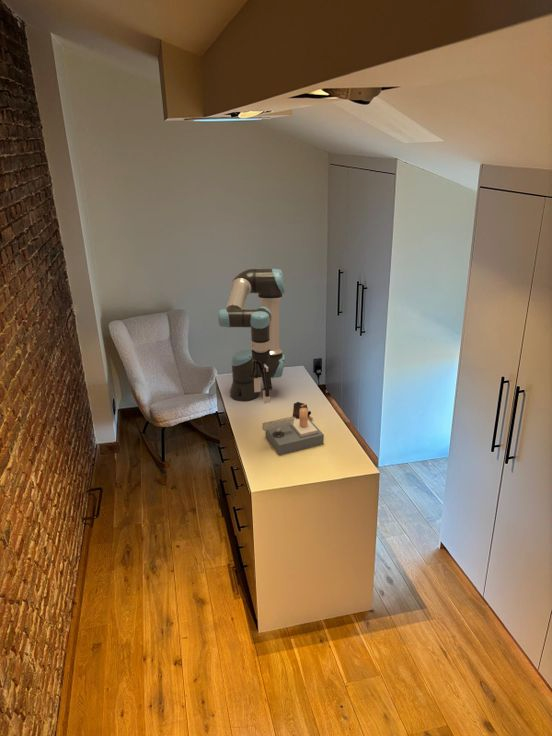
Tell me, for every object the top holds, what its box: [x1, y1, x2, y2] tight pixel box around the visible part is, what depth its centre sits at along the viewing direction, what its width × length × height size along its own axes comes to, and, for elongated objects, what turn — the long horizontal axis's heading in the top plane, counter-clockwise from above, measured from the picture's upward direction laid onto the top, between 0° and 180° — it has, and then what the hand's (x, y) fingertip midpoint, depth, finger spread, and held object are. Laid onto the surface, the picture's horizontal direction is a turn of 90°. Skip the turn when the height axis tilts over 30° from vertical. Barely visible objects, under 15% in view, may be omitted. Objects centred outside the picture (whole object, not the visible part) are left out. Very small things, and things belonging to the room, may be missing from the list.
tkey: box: [262, 416, 295, 435], centre depth 235 cm, size 2×14×6 cm, turn 112°
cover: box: [291, 408, 318, 437], centre depth 239 cm, size 12×8×10 cm, turn 22°
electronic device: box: [292, 401, 314, 421], centre depth 257 cm, size 4×10×8 cm, turn 44°
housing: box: [264, 418, 325, 456], centre depth 241 cm, size 16×21×5 cm
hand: (262, 396), depth 233 cm, fingers open, 10 cm apart
